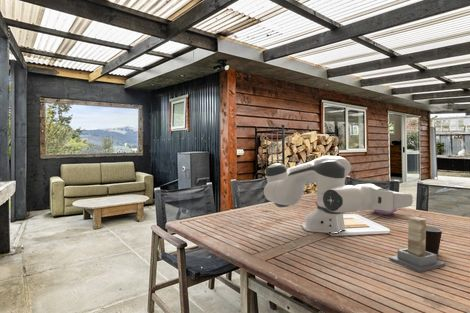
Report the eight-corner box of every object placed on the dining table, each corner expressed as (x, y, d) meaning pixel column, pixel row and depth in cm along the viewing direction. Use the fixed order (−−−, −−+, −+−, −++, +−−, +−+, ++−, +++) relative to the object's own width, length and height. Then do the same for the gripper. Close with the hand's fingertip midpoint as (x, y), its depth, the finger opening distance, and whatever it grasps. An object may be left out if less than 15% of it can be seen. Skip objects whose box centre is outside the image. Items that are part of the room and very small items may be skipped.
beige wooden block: (417, 262, 104) (419, 220, 104) (407, 258, 108) (408, 217, 107) (425, 261, 106) (426, 219, 105) (414, 257, 110) (415, 216, 109)
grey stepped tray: (419, 272, 99) (419, 261, 99) (389, 259, 110) (389, 249, 110) (445, 265, 104) (445, 255, 104) (413, 254, 115) (414, 244, 115)
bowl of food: (407, 216, 173) (408, 198, 172) (375, 217, 173) (375, 198, 173) (390, 209, 193) (390, 192, 192) (361, 209, 193) (361, 192, 193)
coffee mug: (442, 257, 111) (443, 233, 111) (416, 253, 116) (417, 229, 116) (439, 248, 121) (440, 225, 121) (416, 244, 126) (416, 222, 125)
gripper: (344, 200, 106) (371, 197, 111) (393, 212, 87) (423, 208, 92) (344, 183, 105) (372, 181, 111) (394, 192, 87) (424, 189, 92)
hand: (395, 193), depth 101 cm, fingers open, 8 cm apart
